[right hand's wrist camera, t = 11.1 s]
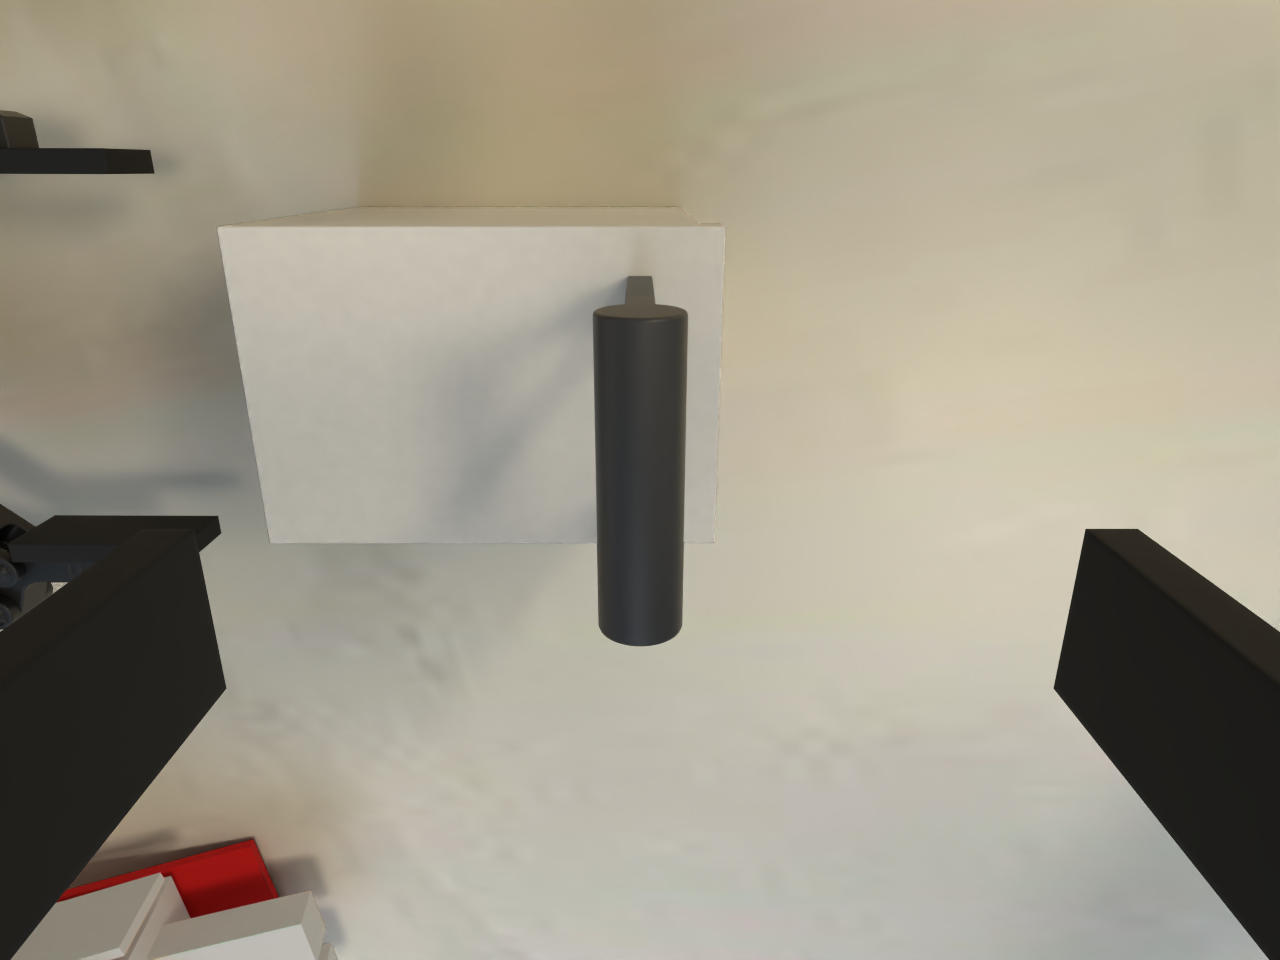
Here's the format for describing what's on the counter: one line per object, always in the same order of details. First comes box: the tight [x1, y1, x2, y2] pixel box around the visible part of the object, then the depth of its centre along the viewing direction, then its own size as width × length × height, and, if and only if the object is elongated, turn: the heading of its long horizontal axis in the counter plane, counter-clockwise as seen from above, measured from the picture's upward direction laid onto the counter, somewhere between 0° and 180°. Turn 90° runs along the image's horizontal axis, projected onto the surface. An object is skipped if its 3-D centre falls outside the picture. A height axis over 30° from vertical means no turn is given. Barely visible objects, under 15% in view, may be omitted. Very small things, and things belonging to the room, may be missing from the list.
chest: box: [245, 207, 698, 223], centre depth 31 cm, size 13×10×11 cm
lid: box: [217, 223, 726, 646], centre depth 22 cm, size 14×10×9 cm
